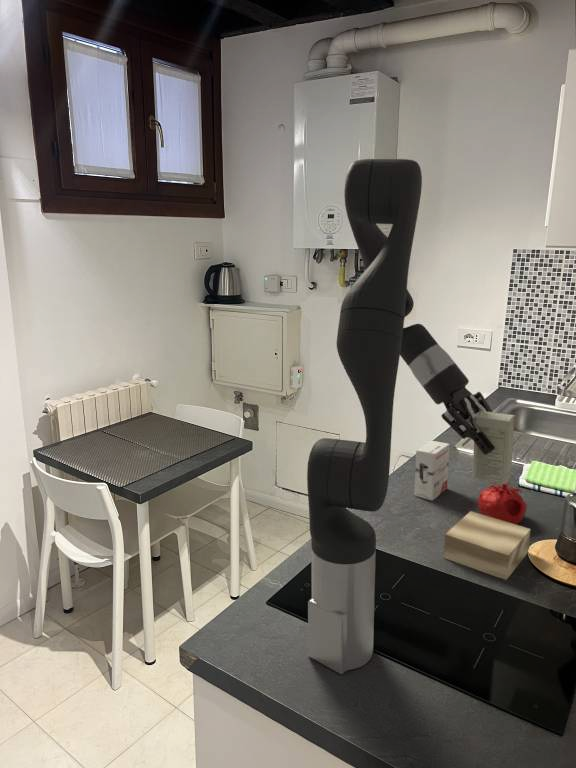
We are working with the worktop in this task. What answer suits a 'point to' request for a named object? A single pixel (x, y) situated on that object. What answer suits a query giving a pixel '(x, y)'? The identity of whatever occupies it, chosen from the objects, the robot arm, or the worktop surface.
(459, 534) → the birch block
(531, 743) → the worktop surface
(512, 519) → the pomegranate
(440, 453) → the ink box
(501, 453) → the skincare box
